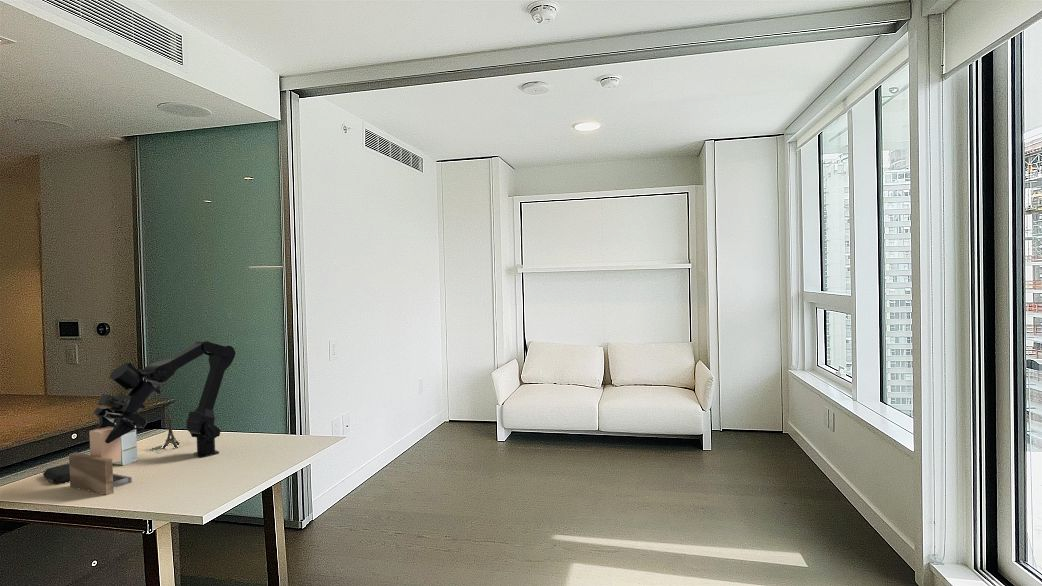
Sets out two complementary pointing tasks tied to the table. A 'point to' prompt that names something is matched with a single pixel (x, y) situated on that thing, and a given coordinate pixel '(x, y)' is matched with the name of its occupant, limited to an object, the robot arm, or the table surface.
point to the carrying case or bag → (58, 474)
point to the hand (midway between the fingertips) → (100, 441)
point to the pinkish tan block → (105, 444)
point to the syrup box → (128, 448)
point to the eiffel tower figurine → (168, 438)
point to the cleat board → (94, 473)
